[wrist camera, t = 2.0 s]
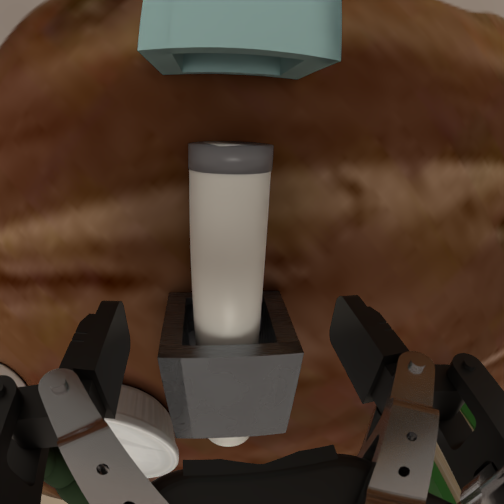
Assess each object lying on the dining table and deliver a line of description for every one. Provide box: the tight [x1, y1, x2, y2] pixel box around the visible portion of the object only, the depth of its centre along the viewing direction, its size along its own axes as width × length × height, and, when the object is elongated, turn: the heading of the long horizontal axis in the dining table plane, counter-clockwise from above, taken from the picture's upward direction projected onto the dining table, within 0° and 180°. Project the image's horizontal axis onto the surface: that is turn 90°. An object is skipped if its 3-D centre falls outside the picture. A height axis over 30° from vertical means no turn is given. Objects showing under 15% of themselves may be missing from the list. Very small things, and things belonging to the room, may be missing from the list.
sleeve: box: [158, 291, 304, 438], centre depth 20 cm, size 8×8×6 cm
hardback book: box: [428, 403, 476, 504], centre depth 22 cm, size 18×7×24 cm, turn 24°
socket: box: [137, 0, 342, 79], centre depth 11 cm, size 8×6×6 cm
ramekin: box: [104, 385, 179, 478], centre depth 23 cm, size 11×11×5 cm
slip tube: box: [188, 141, 274, 447], centre depth 19 cm, size 4×22×4 cm, turn 177°
